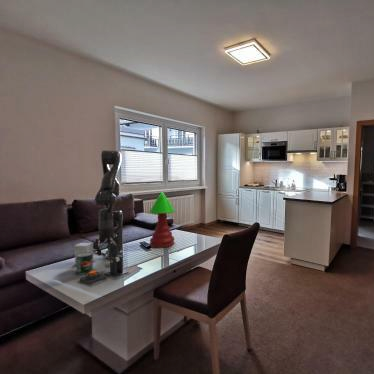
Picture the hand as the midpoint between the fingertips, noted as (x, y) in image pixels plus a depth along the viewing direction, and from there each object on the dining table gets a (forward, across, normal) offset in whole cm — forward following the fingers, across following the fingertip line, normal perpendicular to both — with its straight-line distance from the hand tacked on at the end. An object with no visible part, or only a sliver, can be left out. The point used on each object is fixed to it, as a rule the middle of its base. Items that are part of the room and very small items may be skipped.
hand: (106, 252), depth 140 cm
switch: (+6, 0, +6) cm, 8 cm away
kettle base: (+12, 0, +9) cm, 15 cm away
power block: (+12, +11, +5) cm, 17 cm away
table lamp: (+13, -56, -11) cm, 58 cm away
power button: (+8, +11, +5) cm, 14 cm away
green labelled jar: (+12, -2, -25) cm, 28 cm away
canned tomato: (+12, +6, -11) cm, 18 cm away
